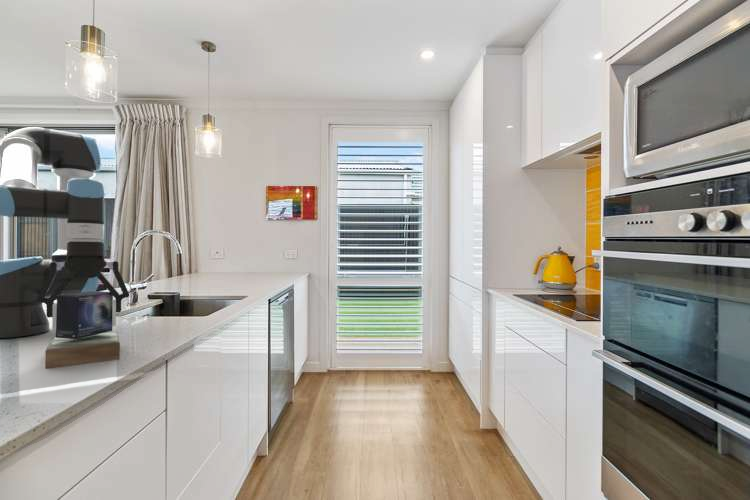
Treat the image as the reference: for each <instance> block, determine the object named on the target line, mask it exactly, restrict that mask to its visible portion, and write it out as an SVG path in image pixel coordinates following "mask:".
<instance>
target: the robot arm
mask: <svg viewBox="0 0 750 500" xmlns="http://www.w3.org/2000/svg"><path fill="white" fill-rule="evenodd" d="M0 157H1V160H2V163H1V164H2V165H1V171H0V216H1V217H7V218H11V217H16V218H40V219H43V218H44V219H57V250H56V251H55V252H54V253H52V254H51V255H50V256H51V259H50V260H44V258H43V256H41V255H40V256H38V255H37V256H30V257H20V258H10V259H3V260H0V339H5V338H7V339H8V338H18V337H24V336H25V337H26V336H32V335H38V334H43V333H46V332H48V331H50V322H49V319H48V318H52V322H51V324H52V332H56V316H57V302H55V301H56V300H57V295H61V294H71V293H80V292H89V291H98V290H97V289H98V287H99V284H100V282H101V283H102V285H103V286H104V287H105V288H106V289H107V290H108V292H110V293H111V294H112V295H113V298H114V299H113V300H112V327H116V326H117V313H121V312H122V300H124V299H126V298H129V297H130V293H129V290H128V288H127V286H126V283H125V282H124V279H123V277H122V275H121V273H120V270H119V262H118V261H117V260H113V261H106V260H105V244H104V242H102V241H103V240H104V239H105V221H104V220H105V218H104V217H105V196H106V193H105V185H104V183H103V181H101V180H97V179H93V178H94V177H95V176H96V172H99V171H101V170H102V169H101V168H102V164H101V159H102V158H101V151H100V146H99V143H98V141H97V139H96V138H95V137H93V136H92V135H87V134H82V133H80V132H71V131H64V130H56V129H50V128H44V127H36V126H34V127H33V126H31V127H22V128H19V129H17V130H14V131H12V132H9V133H8V134H7V135H5V136H4V137H3V138H2V139H1V141H0ZM39 165H43V166H51V173H53V174H54V176H56V178H57V189H53V188H52V189H51V188H42V187H39ZM106 267H108V269H109V270H111V271H112V273H113V274H114V277H115V279H116V281H117V283H118V285H119V288H120V289H121V293H119V292H118V291H117V289H116V288H115V287H114V286H113V284H111V283H110V282H109V280H108V279H107V278H106V276H105V275H104V274H103V273H102V271H103V270H104V268H106ZM43 304H45V305H46V312H45V310H44V307H43Z"/></svg>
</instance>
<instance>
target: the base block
mask: <svg viewBox="0 0 750 500" xmlns="http://www.w3.org/2000/svg"><path fill="white" fill-rule="evenodd" d="M120 343H121V341H120V336H119V331H118V330H112V331H109V332H105V333H100V334H96V335H92V336H87V337H83V338H79V339H68V338H56V337H55V336H54V337H52V338H51V340H50V342H49V344H48V345H47V347H46V349H45V350H44V351H45V356H44V357H45V358H44V359H45V361H44V362H45V365H44V368H45V369H53V368H58V367H59V368H60V367H61V368H62V367H68V366H75V365H82V364H83V365H84V364H91V363H98V362H105V361H113V360H120V359H121V356H120V353H121V351H120V350H121V346H120V345H121V344H120Z"/></svg>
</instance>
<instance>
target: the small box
mask: <svg viewBox="0 0 750 500" xmlns="http://www.w3.org/2000/svg"><path fill="white" fill-rule="evenodd" d="M112 300H114V296H113V295H112V294H111V293H110V292H109V291H101V290H96V291H89V292H80V293H71V294H61V295H57V298H56V303H57V316H56V331H55V336H54V337H56V338H68V339H79V338H83V337H87V336H92V335H96V334H100V333H105V332H109V331H113V326H112Z"/></svg>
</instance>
